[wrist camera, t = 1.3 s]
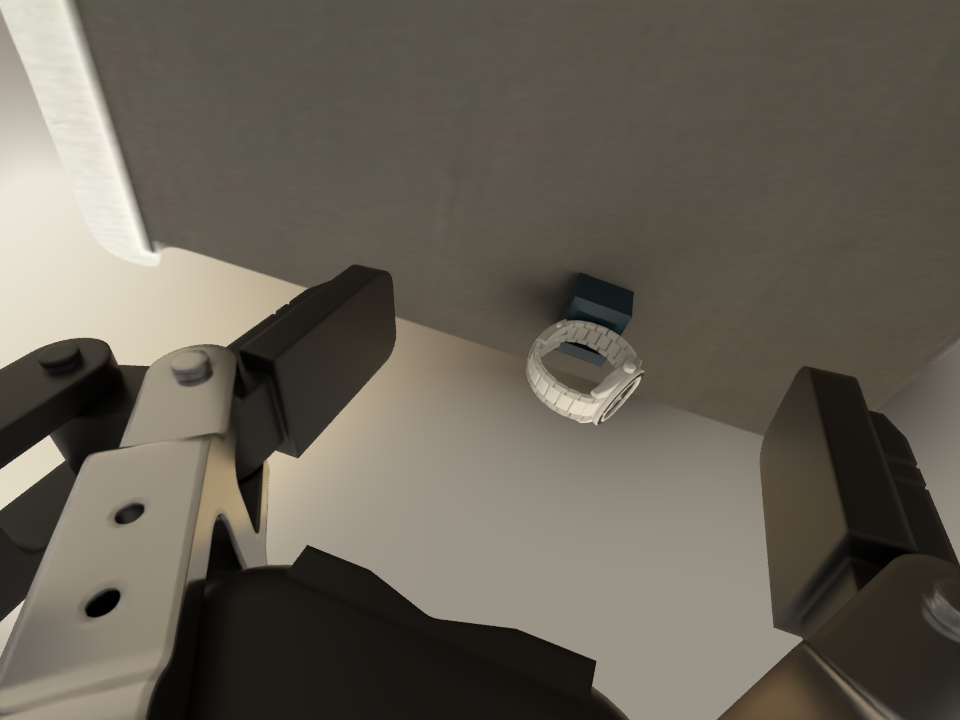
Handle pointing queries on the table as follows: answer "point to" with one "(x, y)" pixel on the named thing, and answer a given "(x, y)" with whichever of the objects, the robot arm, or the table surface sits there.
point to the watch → (589, 351)
